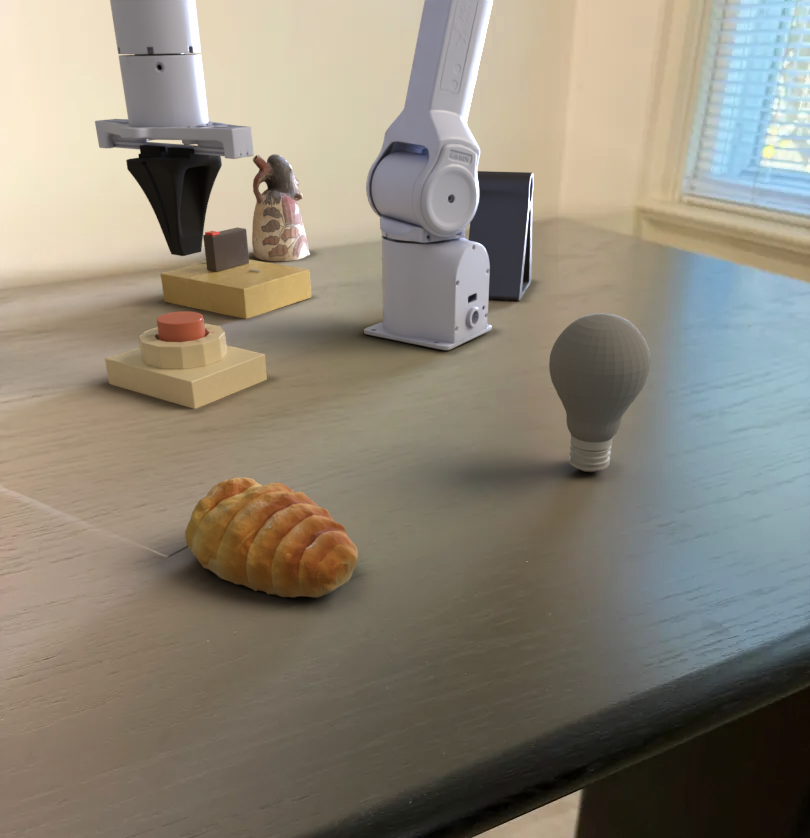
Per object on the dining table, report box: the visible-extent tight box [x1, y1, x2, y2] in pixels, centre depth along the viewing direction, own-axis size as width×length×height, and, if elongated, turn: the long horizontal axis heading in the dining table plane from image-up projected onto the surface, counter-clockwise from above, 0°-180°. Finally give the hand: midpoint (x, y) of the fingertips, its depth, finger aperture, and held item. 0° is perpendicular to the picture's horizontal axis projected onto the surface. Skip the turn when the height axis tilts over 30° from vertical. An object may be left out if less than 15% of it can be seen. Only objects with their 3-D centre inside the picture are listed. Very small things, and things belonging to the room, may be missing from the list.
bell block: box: [104, 322, 268, 410], centre depth 71 cm, size 10×8×4 cm
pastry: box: [184, 476, 359, 598], centre depth 46 cm, size 9×7×4 cm
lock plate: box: [160, 259, 312, 320], centre depth 94 cm, size 13×10×3 cm
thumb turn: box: [203, 227, 250, 272], centre depth 94 cm, size 5×1×4 cm, turn 145°
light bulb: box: [548, 312, 652, 473], centre depth 55 cm, size 6×6×10 cm
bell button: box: [155, 310, 206, 342], centre depth 70 cm, size 4×4×2 cm
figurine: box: [251, 153, 311, 262], centre depth 111 cm, size 7×7×12 cm
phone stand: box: [468, 170, 535, 302], centre depth 95 cm, size 9×6×12 cm, turn 164°
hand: (186, 253), depth 69 cm, fingers closed
